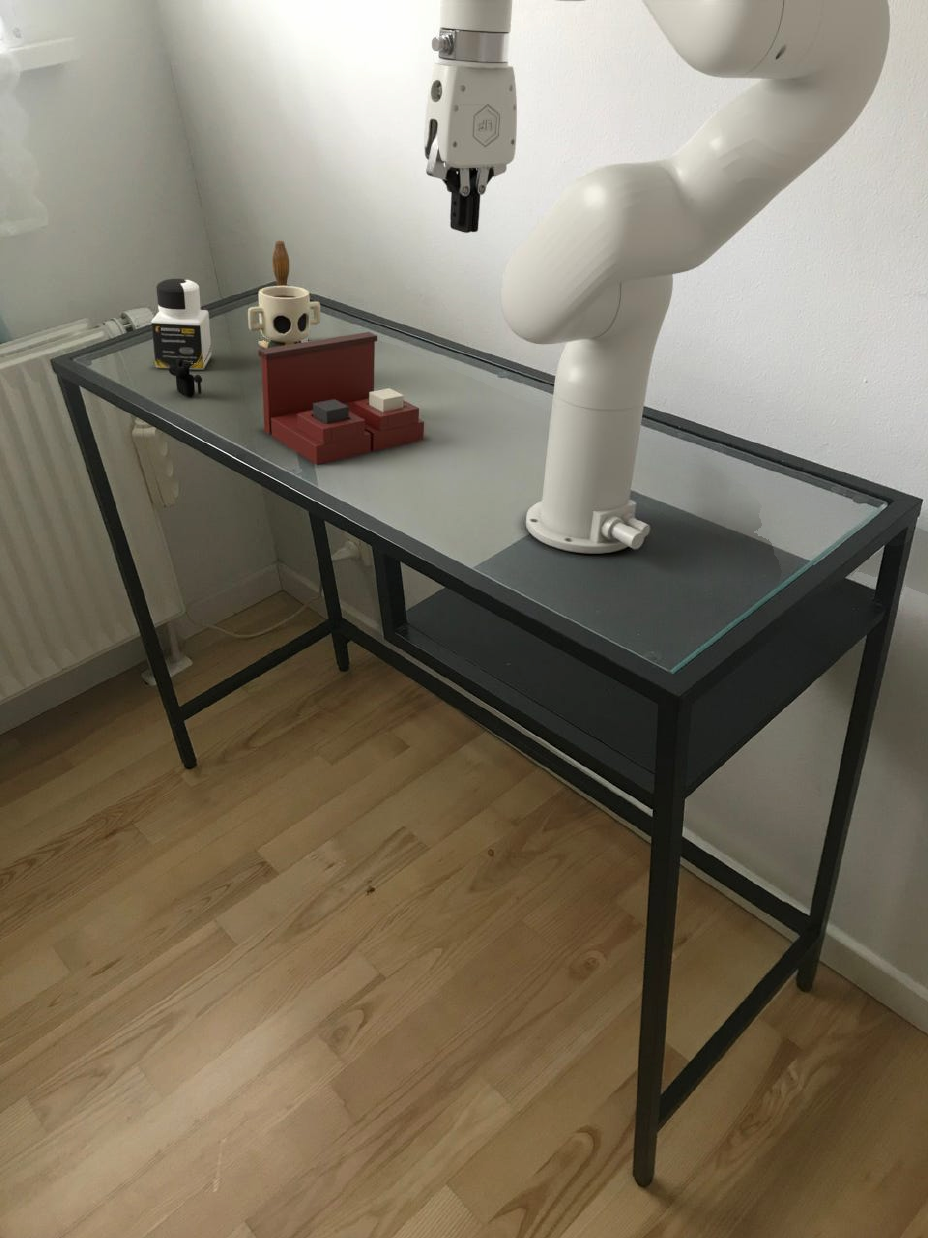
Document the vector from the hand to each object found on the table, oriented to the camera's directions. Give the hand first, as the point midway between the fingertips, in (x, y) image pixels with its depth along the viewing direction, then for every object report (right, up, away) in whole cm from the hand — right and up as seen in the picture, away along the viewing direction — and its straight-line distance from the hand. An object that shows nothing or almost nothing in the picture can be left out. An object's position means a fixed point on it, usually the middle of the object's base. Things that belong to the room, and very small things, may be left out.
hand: (463, 229), depth 121 cm
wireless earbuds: (-39, -14, +25) cm, 49 cm away
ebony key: (-17, -20, +9) cm, 28 cm away
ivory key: (-10, -18, +14) cm, 25 cm away
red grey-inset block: (-18, -23, +13) cm, 32 cm away
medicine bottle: (-42, -6, +37) cm, 57 cm away
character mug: (-26, -10, +33) cm, 43 cm away
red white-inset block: (-12, -20, +18) cm, 29 cm away
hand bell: (-29, -1, +48) cm, 56 cm away
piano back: (-19, -19, +20) cm, 33 cm away
